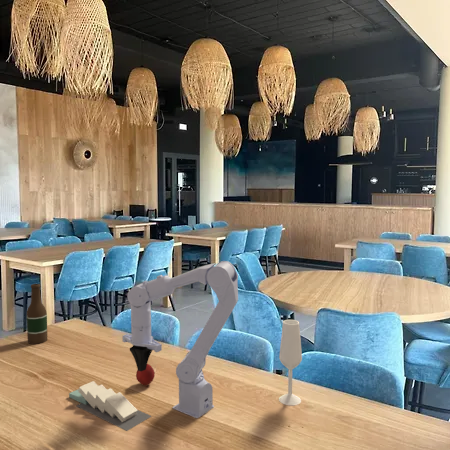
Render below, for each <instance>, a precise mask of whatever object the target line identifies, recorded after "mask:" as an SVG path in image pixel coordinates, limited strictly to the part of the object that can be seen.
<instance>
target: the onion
mask: <svg viewBox="0 0 450 450" xmlns="http://www.w3.org/2000/svg"><path fill="white" fill-rule="evenodd" d="M155 373H156V372H155V370H154V368H153V367H152V366H151V365H150V364H149V363H147V367H146V370H144V371H138V369H136V375H135V377H136V380H137V382H138V383H139V384H141V385H142V386H144V387H146V386H149V385H150V384H151V383H152V382H153V381H154V379H155V375H156V374H155Z"/></svg>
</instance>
